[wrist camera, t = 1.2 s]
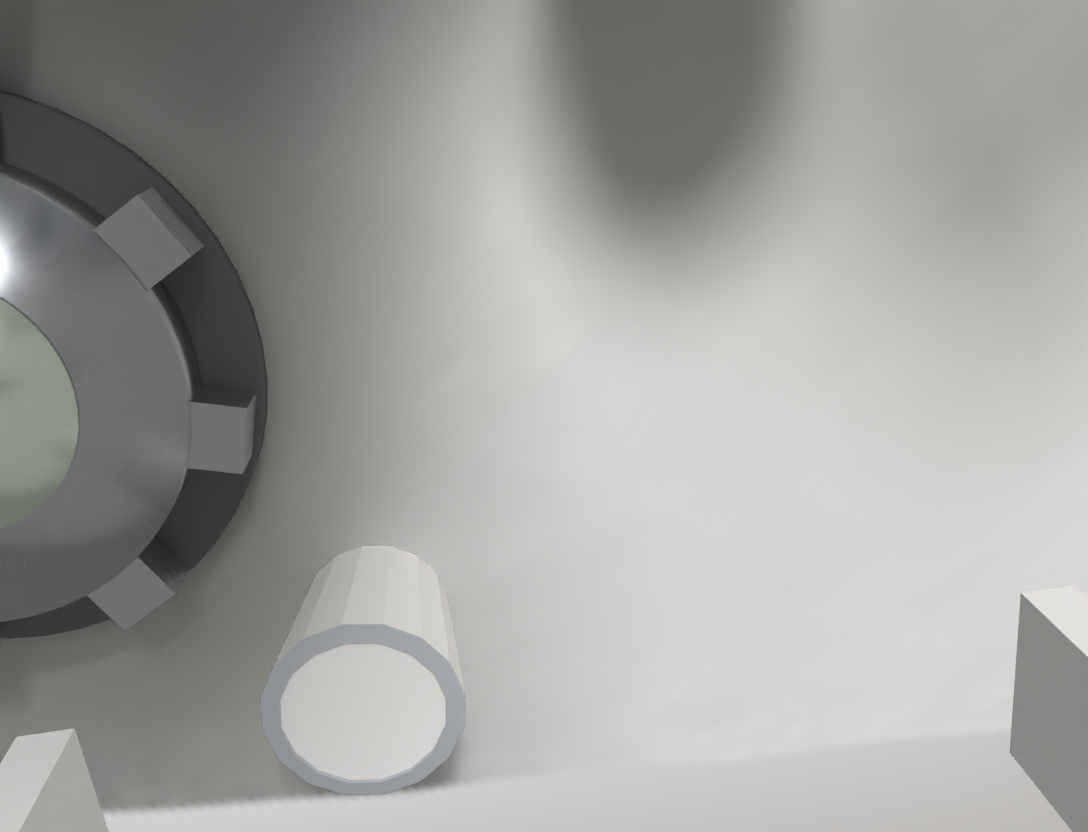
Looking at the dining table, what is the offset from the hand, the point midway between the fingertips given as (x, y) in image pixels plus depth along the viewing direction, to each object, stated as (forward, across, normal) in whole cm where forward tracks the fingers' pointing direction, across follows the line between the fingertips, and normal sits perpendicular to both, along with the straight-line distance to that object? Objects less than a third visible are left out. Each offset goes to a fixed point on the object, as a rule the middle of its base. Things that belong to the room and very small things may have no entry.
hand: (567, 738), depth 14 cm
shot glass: (+24, -6, -12) cm, 28 cm away
